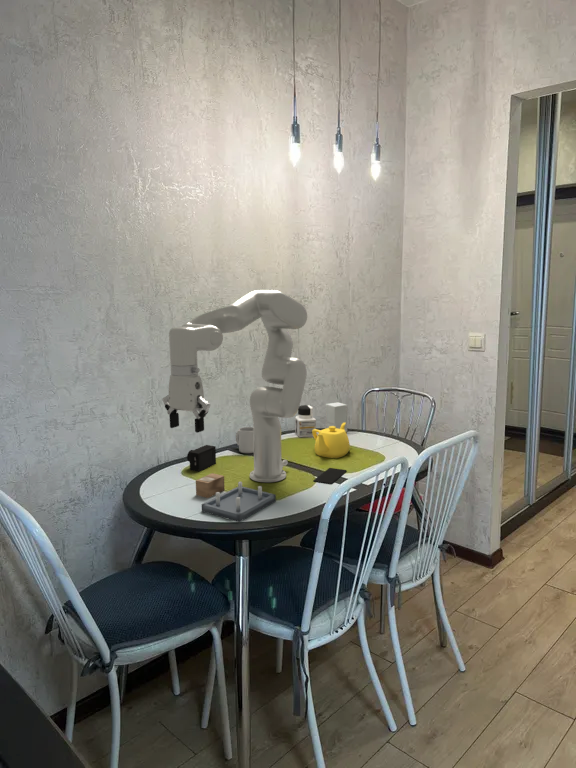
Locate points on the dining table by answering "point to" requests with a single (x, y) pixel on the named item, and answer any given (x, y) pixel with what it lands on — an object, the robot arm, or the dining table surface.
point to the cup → (245, 440)
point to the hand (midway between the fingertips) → (187, 429)
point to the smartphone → (330, 476)
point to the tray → (238, 503)
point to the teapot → (331, 442)
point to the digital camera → (202, 458)
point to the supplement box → (336, 415)
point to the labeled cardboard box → (209, 485)
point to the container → (305, 421)
